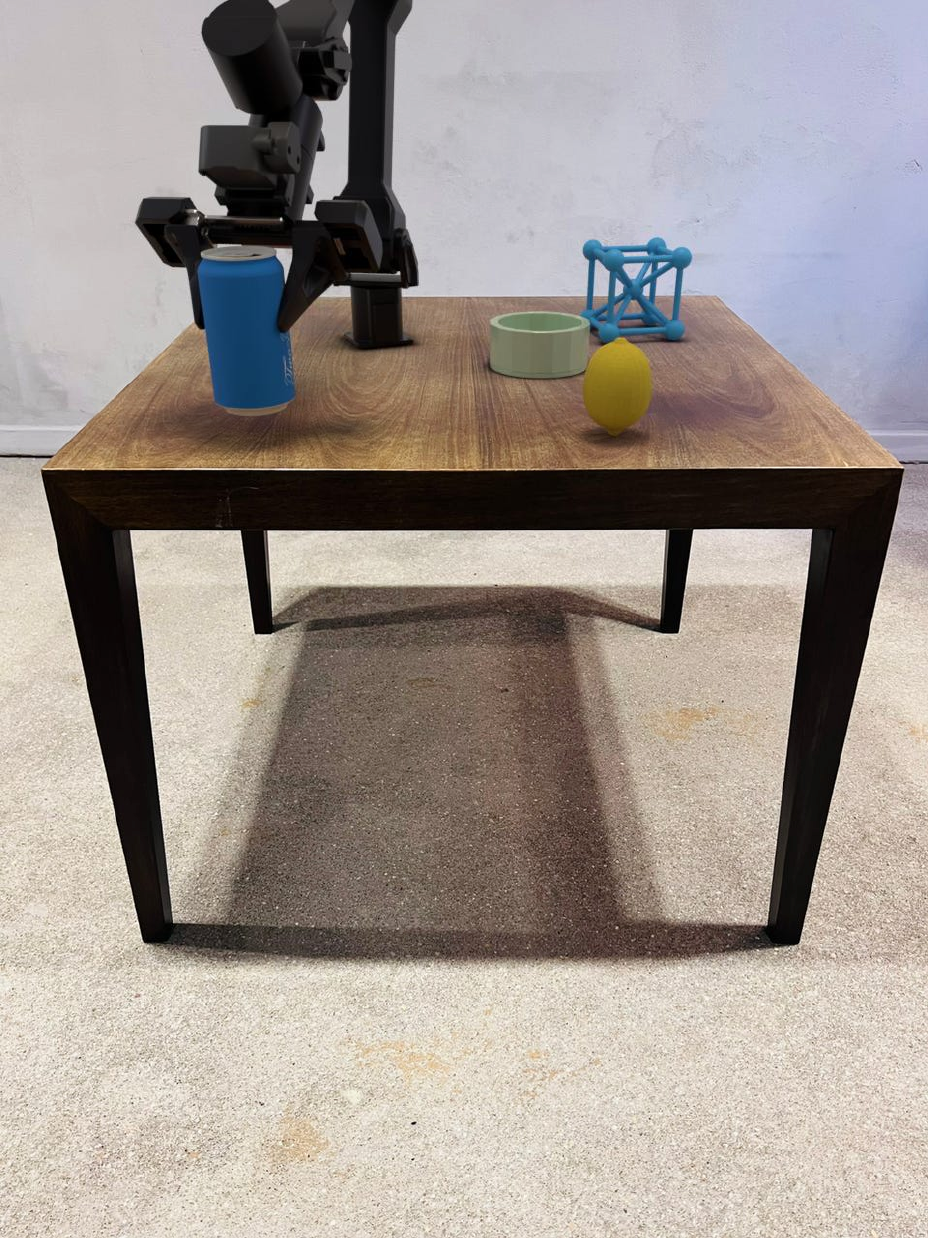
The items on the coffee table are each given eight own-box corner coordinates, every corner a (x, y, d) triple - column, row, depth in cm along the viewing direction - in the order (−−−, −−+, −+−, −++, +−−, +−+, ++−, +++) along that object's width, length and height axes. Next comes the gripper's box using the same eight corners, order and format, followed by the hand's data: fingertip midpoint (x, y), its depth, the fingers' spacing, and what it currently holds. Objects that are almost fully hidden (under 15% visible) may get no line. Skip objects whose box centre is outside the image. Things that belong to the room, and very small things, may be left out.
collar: (475, 359, 104) (475, 315, 102) (560, 350, 107) (561, 308, 105) (514, 382, 96) (515, 335, 94) (604, 372, 99) (607, 327, 97)
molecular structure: (686, 341, 110) (696, 247, 106) (601, 346, 109) (607, 250, 104) (655, 323, 119) (663, 235, 114) (576, 326, 117) (580, 237, 113)
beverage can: (279, 421, 77) (263, 259, 71) (202, 416, 78) (180, 257, 72) (307, 397, 82) (294, 245, 76) (234, 393, 83) (216, 243, 77)
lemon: (605, 450, 78) (612, 348, 74) (567, 431, 82) (572, 334, 78) (661, 439, 80) (671, 340, 76) (621, 421, 85) (628, 326, 81)
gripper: (125, 80, 74) (74, 259, 70) (363, 78, 70) (325, 267, 66) (187, 183, 84) (146, 344, 80) (397, 187, 81) (365, 355, 77)
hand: (239, 328), depth 76 cm, fingers closed on beverage can, 6 cm apart
